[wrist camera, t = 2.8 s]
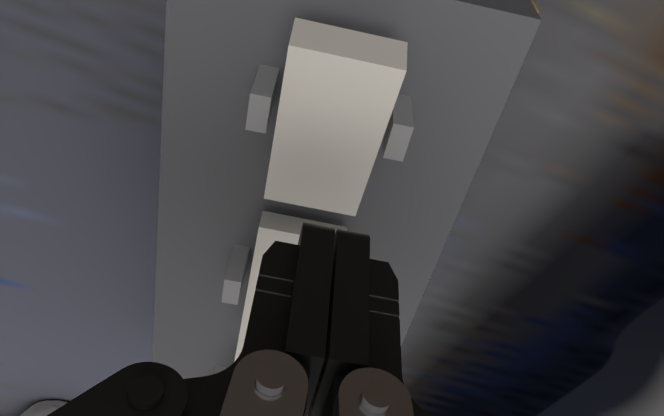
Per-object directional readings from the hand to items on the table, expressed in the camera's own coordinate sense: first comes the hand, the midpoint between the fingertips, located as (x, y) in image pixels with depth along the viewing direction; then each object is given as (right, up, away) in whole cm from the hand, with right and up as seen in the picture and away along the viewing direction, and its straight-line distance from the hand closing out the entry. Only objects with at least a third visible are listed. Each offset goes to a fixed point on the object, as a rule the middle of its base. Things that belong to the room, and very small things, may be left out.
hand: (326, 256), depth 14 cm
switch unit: (-2, +1, +22) cm, 22 cm away
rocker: (0, +5, +11) cm, 11 cm away
